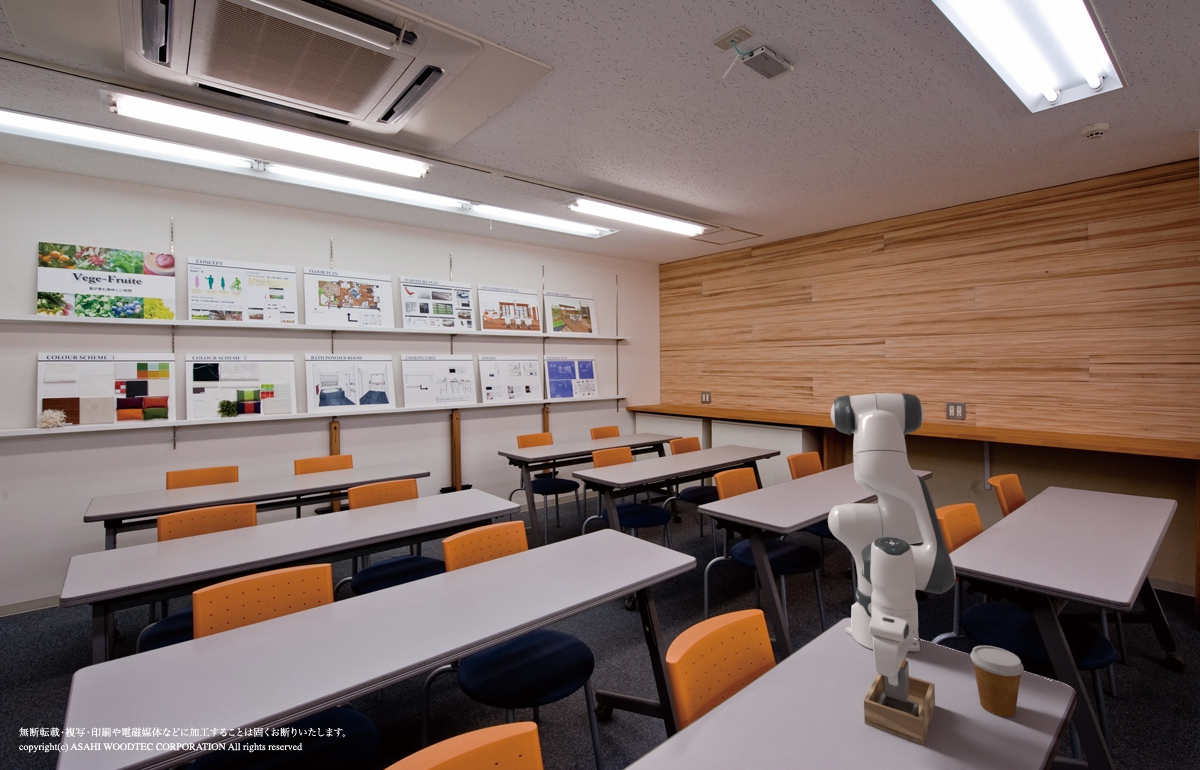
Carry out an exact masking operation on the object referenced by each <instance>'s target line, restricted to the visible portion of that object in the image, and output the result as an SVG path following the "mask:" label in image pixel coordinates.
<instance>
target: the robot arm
mask: <svg viewBox="0 0 1200 770" xmlns="http://www.w3.org/2000/svg"><path fill="white" fill-rule="evenodd" d="M924 418H925V409H924V407H923V404H922V402H921V400H920V398H918V396H917V395H916V394H911V393H904V392H901V393H893V392H890V393H889V392H888V393H887V392H875V393H867V394H866V393H863V394H855V395H848V394H847V395H841V396H837V397H836V398H835V400H833V403H832V406H831V408H830V419H831V423H832V424H833V426H834V428H835V429H836V430H837V431H838V432H839V433H842V434H846V435H848V436H851V435H852V434H853V444H852V445H853V446H852V451H853V453H852V454H853V455H852V458H853V478H854V481H855V483H856V485H858V486H859V487H860V488H861V489H863V490H865V491H866V492H869V493H871V494H874V495H875V496H877V501H878V502H877V503H864V502H863V503H862V502H861V503H859V502H858V503H857V502H856V503H855V502H854V503H853V502H849V503H843V504H838V505H834V506H833V507H832V508H831V509H830V511H829V513H828V517H827V523H828V529H829V531H830V532H831V533H832V535H833V536H834V537H835V538H836V539H837V540H838V541H840V542H842V544H843V545H845V547H846V548H847V549H848V550H849V552H850V553H851V555H852V556H853V559H854V562H855V566H856V574H857V587H856V592H855V596H856V602H855V603H853V604H852V605H851V611H850V612H851V615H850V616H851V618H850V620H851V621H850V624H849V625H847V626H846V627H845V632H846V633H847V634H849V636H851V637H853V639H854V640H855V641H856V642H857V643H859V644H860V645H861V646H863V647H865V648H867V649H870V650H873V660H874V662H873V663H874V668H875V671H876V672H877V674H880V675H884V676H887V677H888V682H889V684H891V685H894V686H897V685H898V683H899V675H898V672H899V670H900V667H901V665H902V663H903V661H904V658H905V657H906V656H907V654H908V652H920V651H921V647H920V646H921V645H920V637H919V614H918V613H919V611H918V601H917V599H916V591H917V590H919V591H922V592H927V593H933V594H937V595H938V594H939V595H942V594H944V593H946V592H947V591H949V590H950V589H951V588H952V587H953V586H955V584H956V569H955V565H954V562H953V560H952V558H951V556H950V554H949V550H948V548H947V544H946V542H945V538H944V535H943V531H942V529H941V528H942V527H941V525H940V521H939V518H938V514H937V512H936V509H935V508H936V507H935V505H934V502H933V499H932V496H931V493H930V489H929V487H928V484H927V482H926V481H925V480H924V478H923V477H922V476H920V475H917V474H916V473H915V472H914V470H913V469H912V467H911V466H910V463H909V460H908V454H907V452H908V451H907V445H906V439H905V436H906V435H907V434H910V433H913V432H914V433H915V432H916V431H917V430H919V429H920V428H921V427H922V423H923V420H924ZM918 543H922V544H921V545H913V544H918ZM913 638H916V639H919V641H918V640H915V639H913Z"/></svg>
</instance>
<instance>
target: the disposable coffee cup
mask: <svg viewBox="0 0 1200 770" xmlns="http://www.w3.org/2000/svg"><path fill="white" fill-rule="evenodd" d="M969 657H970V660H971V662H972V663H973V668H974V669H973V670H974V673H975V678H976V679H975V681H976V686H977V692H978V698H979V702H980V703H979V704H980V706H981V708H983V709H984V710H986V711H987V712H988V713H990V714H993V715H995V716H998V717H1002V718H1003V717H1004V718H1012V717H1014V716H1016V714H1017V713H1016V711H1017V706H1018V705H1017V704H1018V697H1019V689H1020V682H1021V675H1022V673H1023V671H1024V665H1023V664H1022V662H1021V659H1020V657H1019V656H1018V655H1016V654H1015V653H1013V652H1012V651H1011V652H1010V650H1006V649H1004V648H1000V647H998V646H997V647H996V646H992V645H977V646H974V647H973V648H972V651H971V652H970V656H969Z"/></svg>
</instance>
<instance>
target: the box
mask: <svg viewBox="0 0 1200 770" xmlns="http://www.w3.org/2000/svg"><path fill="white" fill-rule="evenodd" d="M935 692H936V689H935V683H934V682H930V681H926V680H924V679H920V678H918V677H914V676H910V675H909V696H908V698H907V701H906V702H904V701H901V700H897V699H894V698H891V697H888V696H885V682H884V675H880V674H878V673H877V674H876V676H875V678H874V680H873V682H872V684H871V686H870V688H869V690H868V692H867V694H866V695H865V698H864V699H863V709H864V710H863V713H864V714H863V715H864V717H863V718H864V724H865V725H868V726H871V727H873V728H876V729H880V730H882V731H884V732H887V733H889V734H892V735H895V736H898V737H900V738H903V739H905V740H909V741H912V742H914V743H916V744H919V745H923V746H924V743H925V742H926V741H925V740H926V736H927V734H928V730H929V728H930V723H931V720H932V717H933V714H934V710H935V707H936V696H935V695H936V693H935Z"/></svg>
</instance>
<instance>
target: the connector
mask: <svg viewBox="0 0 1200 770" xmlns="http://www.w3.org/2000/svg"><path fill="white" fill-rule="evenodd" d="M898 675H899V683H898V685H897V686H894V685H891V684H889V682H888V677H887V676H884V682H885V696H888V697H891V698H894V699H897V700H901V701H904V702H906V701H907V698H908V696H909V676H910V669H909V661H908V660H907V657H906V656H905V658H904V661H903V663H902V665H901V667H900V670H899V672H898Z"/></svg>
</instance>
